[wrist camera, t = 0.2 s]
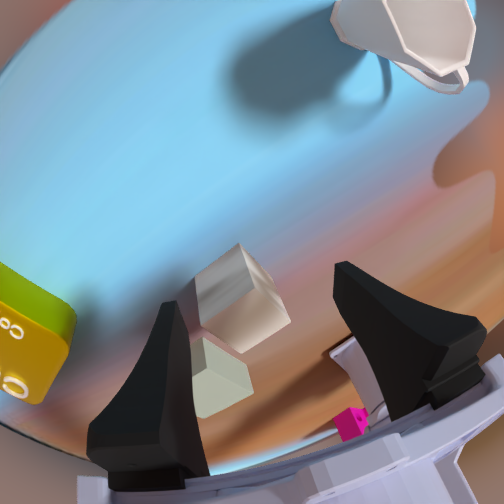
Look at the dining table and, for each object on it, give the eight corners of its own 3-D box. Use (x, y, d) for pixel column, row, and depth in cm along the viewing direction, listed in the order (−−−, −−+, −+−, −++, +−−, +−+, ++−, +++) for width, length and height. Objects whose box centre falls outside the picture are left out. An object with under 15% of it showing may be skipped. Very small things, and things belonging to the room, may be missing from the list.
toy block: (393, 405, 52) (408, 433, 46) (370, 421, 54) (383, 449, 48) (360, 398, 45) (377, 433, 39) (332, 417, 47) (347, 452, 41)
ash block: (270, 276, 26) (291, 322, 21) (229, 305, 27) (241, 353, 22) (238, 242, 24) (255, 287, 19) (194, 276, 24) (200, 325, 20)
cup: (347, -36, 13) (421, -64, 6) (430, 57, 18) (508, 70, 11) (290, 19, 15) (354, -4, 9) (386, 112, 20) (463, 140, 13)
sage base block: (245, 363, 32) (254, 393, 29) (199, 390, 33) (203, 418, 30) (202, 334, 28) (207, 368, 25) (154, 366, 30) (154, 398, 26)
